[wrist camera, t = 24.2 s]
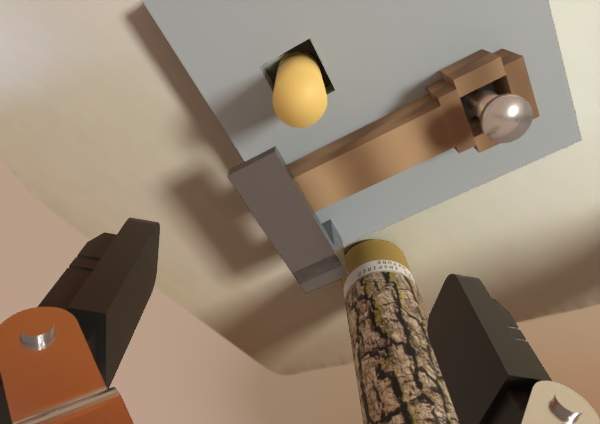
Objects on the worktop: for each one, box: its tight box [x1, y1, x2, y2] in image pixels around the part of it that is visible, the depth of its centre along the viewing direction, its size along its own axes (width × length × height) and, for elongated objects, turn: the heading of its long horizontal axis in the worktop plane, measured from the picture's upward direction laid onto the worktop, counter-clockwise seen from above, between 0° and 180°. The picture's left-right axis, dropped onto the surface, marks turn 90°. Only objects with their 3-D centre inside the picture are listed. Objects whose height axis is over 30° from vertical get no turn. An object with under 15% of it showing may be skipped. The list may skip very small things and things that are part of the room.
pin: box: [272, 51, 327, 128], centre depth 33 cm, size 4×4×9 cm
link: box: [287, 48, 540, 212], centre depth 35 cm, size 21×6×4 cm, turn 118°
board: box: [142, 0, 582, 246], centre depth 36 cm, size 26×26×2 cm
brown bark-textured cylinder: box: [342, 240, 460, 424], centre depth 35 cm, size 7×7×25 cm
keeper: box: [227, 146, 348, 293], centre depth 38 cm, size 12×4×8 cm, turn 28°
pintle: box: [460, 86, 533, 143], centre depth 34 cm, size 3×3×9 cm
